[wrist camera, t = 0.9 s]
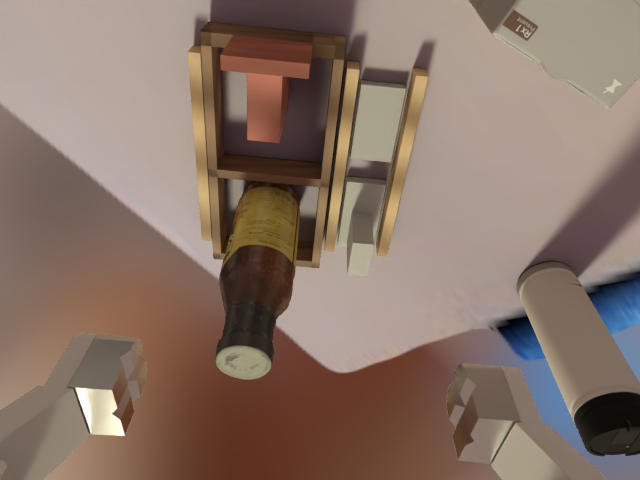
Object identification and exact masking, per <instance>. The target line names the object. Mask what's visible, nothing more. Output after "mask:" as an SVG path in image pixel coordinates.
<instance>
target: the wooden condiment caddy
mask: <svg viewBox="0 0 640 480" xmlns="http://www.w3.org/2000/svg"><path fill="white" fill-rule="evenodd" d="M200 41H201V57H202V74H203V91H204V107H205V124H206V141H207V157H208V174H209V191H210V207H211V224H212V241H213V257H214V259H223V260H224V257H225V253H226V248H227V245H228V241H229V237H230V236H226V209H225V182H224V178H229V179H240V180H250V181H261V182H272V183H282V184H293V185H303V186H314V187H319V195H318V204H317V214H316V223H315V232H314V242H313V244H311V243H300V242H298V243H297V254H296V266H301V267H312V268H319V265H320V256H321V248H322V240H323V232H324V223H325V215H326V207H327V198H328V190H329V182H330V173H331V165H332V157H333V148H334V140H335V132H336V123H337V115H338V107H339V98H340V90H341V82H342V74H343V65H344V57H345V49H346V42H345V36H338V35H329V34H319V33H310V32H300V31H291V30H281V29H272V28H262V27H253V26H243V25H234V24H224V23H215V22H208V23H207V24H206V25H205V26H204V28H203V29H202V30H201V31H200ZM220 47H221V48H224V50H223V51H222V53H221V55H220ZM312 57H317V58H327V59H333V62H332V72H331V81H330V91H329V100H328V110H327V119H326V129H325V138H324V147H323V157H322V164H320V163H310V162H299V161H289V160H279V159H268V158H258V157H248V156H237V155H227V154H223V127H222V100H221V73H220V63H221V70H225V71H235V72H245V73H247V140H253V141H263V142H273V143H280V138H281V134H282V129H283V125H284V120H285V116H286V111H287V106H288V100H289V81H290V77H294V78H303V79H309V73H310V66H311V59H312Z"/></svg>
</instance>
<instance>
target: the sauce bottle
mask: <svg viewBox="0 0 640 480" xmlns="http://www.w3.org/2000/svg"><path fill="white" fill-rule="evenodd" d="M299 217H300V209H299V203H298V197H297V195H296V193H295V192H294V191H293V190H292V189H291V188H290V187H288V186H287V185H286V184H282V183H272V182H261V181H256V182H254V183H252V184H250V185H249V186H248V187H247V189H246V190H244V192H243V194H242V197H241V198H240V200H239V203H238V206H237V210H236V214H235V218H234V222H233V226H232V230H231V233H230V237H229V241H228V245H227V248H226V253H225V257H224V260H223V265H222V268H221V273H220V277H219V285H220V289H221V295H222V300H223V305H224V310H225V314H226V316H225V326H224V330H223V336H222V338H221V339H220V340H219V342H218V345H217V350H216V364H217V366H218V368H219V369H220V370H221V371H222V372H224V373H225V374H228V375H229V376H232V377H236V378H240V379H255V378H259V377H261V376H263V375H265V374H266V373H267V372H269V370H270V368H271V366H272V362H273V355H274V349H273V343H272V340H273V330H274V327H275V324H276V319H277V318H278V316H279V315H281V314H282V313H283V312H284V311H285V310H286V309H287V307H288V305H289V302H290V300H291V296H292V287H293V279H294V276H295V267H296V254H297V243H298V230H299Z"/></svg>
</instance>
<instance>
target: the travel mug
mask: <svg viewBox="0 0 640 480" xmlns="http://www.w3.org/2000/svg"><path fill="white" fill-rule="evenodd" d="M517 292H518V294H519V297H520V299H521V301H522V304H523V306H524V308H525V310H526V313H527V315H528V317H529V320H530V322H531V324H532V327H533V329H534V331H535V334H536V336H537V338H538V341H539V343H540V345H541V347H542V350H543V352H544V354H545V357H546V359H547V361H548V364H549V366H550V368H551V371H552V373H553V375H554V378H555V380H556V382H557V384H558V387H559V389H560V391H561V394H562V396H563V398H564V400H565V403H566V405H567V408H568V410H569V412H570V414H571V416H572V419H573V421H574V423H575V425H576V427H577V428H578V430H579V433H580V436H581V438H582V441H583V443H584V445H585V448H586V449H587V451H588V452H590V453H591V454H593V455H597V456H605V455H604V454H606V455H619V454H624V453H625V455H626V456H630V455H637V454H640V383H639V381H638V380H637V378H636V377H635V375H634V373H633V371H632V369H631V368H630V366H629V365H628V363H627V361H626V359H625V358H624V356H623V354H622V353H621V351H620V349H619V348H618V346H617V344H616V343H615V341H614V339H613V338H612V336H611V334H610V333H609V331H608V329H607V327H606V326H605V324H604V322H603V321H602V319H601V317H600V316H599V314H598V312H597V311H596V309H595V307H594V306H593V304H592V302H591V301H590V299H589V297H588V296H587V294H586V292H585V291H584V289H583V287H582V286H581V284H580V282H579V281H578V279H577V277H576V275H575V274H574V272H573V270H572V269H571V268H570V267H569V266H567V265H565V264H562V263H558V262H545V263H541V264H538V265H535V266H533V267H531V268H530V269H528V270H527V271H525V272H524V273H523V274H522V275H521V277H520V278H519V280H518V283H517Z"/></svg>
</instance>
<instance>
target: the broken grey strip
mask: <svg viewBox="0 0 640 480" xmlns="http://www.w3.org/2000/svg"><path fill="white" fill-rule="evenodd" d="M405 92H406V87H405V85H402V84H392V83H382V82H373V81H363V80H361V83H360V90H359V97H358V104H357V111H356V118H355V125H354V132H353V138H352V145H351V152H350V158H351V159H360V160H371V161H381V162H391V159H392V155H393V150H394V145H395V140H396V135H397V130H398V126H399V121H400V116H401V111H402V106H403V101H404V96H405ZM385 189H386V181H385V180H379V179H368V178H358V177H347V180H346V187H345V194H344V200H343V207H342V214H341V221H340V228H339V235H338V246H340V247H347V275H355V276H366V277H368V273H369V268H370V263H371V258H372V253H373V248H374V242H375V237H376V232H377V227H378V223H379V218H380V213H381V208H382V203H383V198H384V193H385Z"/></svg>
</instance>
